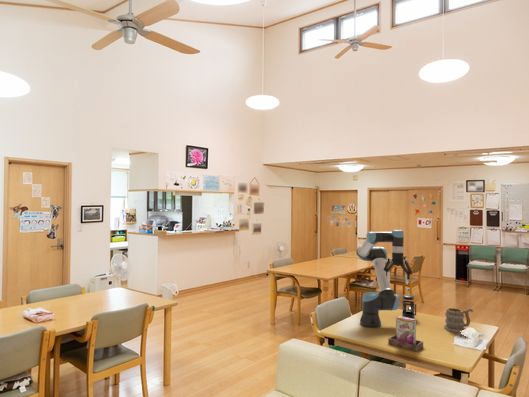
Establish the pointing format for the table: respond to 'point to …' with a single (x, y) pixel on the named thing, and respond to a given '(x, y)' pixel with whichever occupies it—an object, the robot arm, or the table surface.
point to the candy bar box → (406, 330)
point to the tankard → (456, 319)
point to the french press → (408, 314)
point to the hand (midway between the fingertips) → (397, 282)
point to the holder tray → (405, 344)
